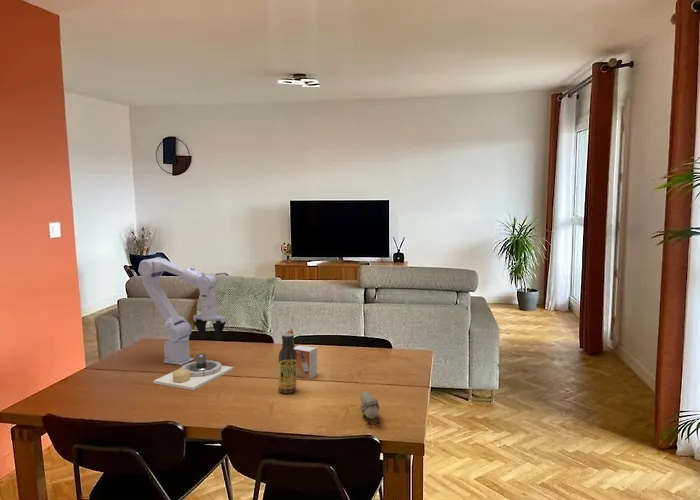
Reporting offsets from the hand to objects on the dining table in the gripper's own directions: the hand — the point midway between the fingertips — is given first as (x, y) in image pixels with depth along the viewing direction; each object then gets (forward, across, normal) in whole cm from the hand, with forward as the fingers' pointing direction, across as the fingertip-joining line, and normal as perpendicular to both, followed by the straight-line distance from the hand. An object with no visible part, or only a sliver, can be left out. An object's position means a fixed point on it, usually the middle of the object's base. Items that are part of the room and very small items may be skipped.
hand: (210, 338), depth 213 cm
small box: (+12, -40, -3) cm, 42 cm away
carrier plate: (+10, -3, +14) cm, 18 cm away
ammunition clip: (+11, -25, -17) cm, 32 cm away
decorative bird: (+13, -77, +21) cm, 80 cm away
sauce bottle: (+12, -43, +13) cm, 46 cm away
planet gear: (+9, -3, +10) cm, 14 cm away
